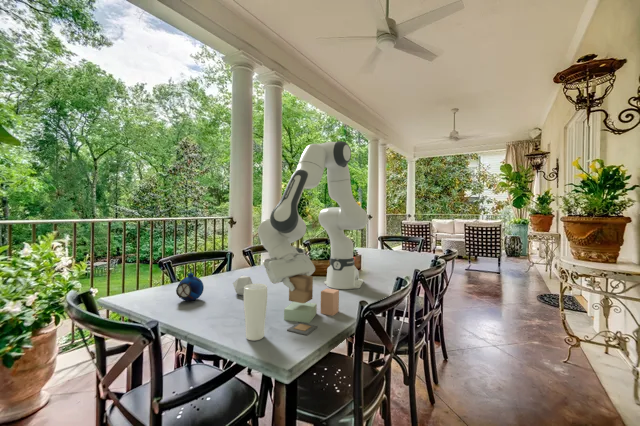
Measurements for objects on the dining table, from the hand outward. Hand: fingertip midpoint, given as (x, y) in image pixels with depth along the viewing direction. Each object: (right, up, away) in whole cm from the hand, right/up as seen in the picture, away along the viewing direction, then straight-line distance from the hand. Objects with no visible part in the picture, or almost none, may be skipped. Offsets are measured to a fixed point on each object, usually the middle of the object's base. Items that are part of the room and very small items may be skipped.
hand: (302, 287), depth 103 cm
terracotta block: (+10, -10, +5) cm, 15 cm away
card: (+1, -10, -10) cm, 15 cm away
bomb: (-46, -10, +16) cm, 50 cm away
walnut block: (-1, -4, 0) cm, 4 cm away
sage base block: (-1, -11, +1) cm, 11 cm away
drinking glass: (-13, -11, -17) cm, 24 cm away
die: (-28, -10, +27) cm, 40 cm away
